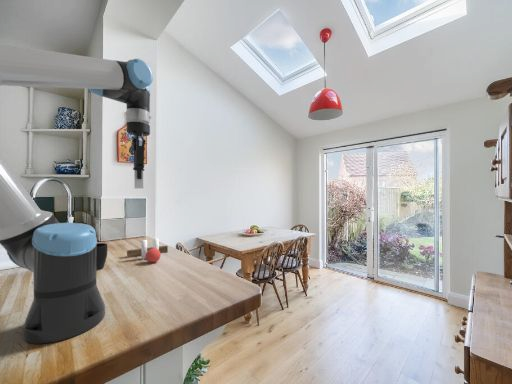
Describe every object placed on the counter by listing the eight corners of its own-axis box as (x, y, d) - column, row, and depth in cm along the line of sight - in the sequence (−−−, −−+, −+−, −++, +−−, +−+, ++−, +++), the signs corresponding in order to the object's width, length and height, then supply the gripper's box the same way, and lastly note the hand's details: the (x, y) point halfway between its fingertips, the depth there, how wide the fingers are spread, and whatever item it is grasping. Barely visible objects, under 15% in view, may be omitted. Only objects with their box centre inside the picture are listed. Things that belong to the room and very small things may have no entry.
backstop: (167, 252, 120) (167, 246, 120) (127, 257, 110) (127, 251, 110) (166, 251, 121) (166, 245, 121) (127, 256, 112) (127, 250, 112)
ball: (158, 252, 108) (161, 263, 105) (144, 255, 105) (146, 266, 102) (159, 244, 105) (162, 255, 101) (145, 247, 101) (147, 259, 98)
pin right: (159, 257, 111) (159, 239, 110) (153, 258, 109) (153, 239, 109) (158, 256, 113) (158, 238, 112) (152, 256, 111) (152, 239, 111)
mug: (107, 262, 104) (106, 240, 103) (107, 269, 94) (107, 246, 94) (84, 265, 99) (83, 242, 99) (82, 273, 89) (81, 248, 89)
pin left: (147, 259, 108) (147, 240, 108) (141, 259, 107) (141, 241, 106) (146, 257, 110) (146, 239, 110) (141, 258, 109) (141, 240, 108)
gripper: (152, 120, 82) (152, 188, 82) (147, 128, 93) (147, 188, 93) (128, 117, 78) (128, 188, 78) (125, 126, 89) (125, 188, 89)
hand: (138, 188), depth 86 cm, fingers closed
